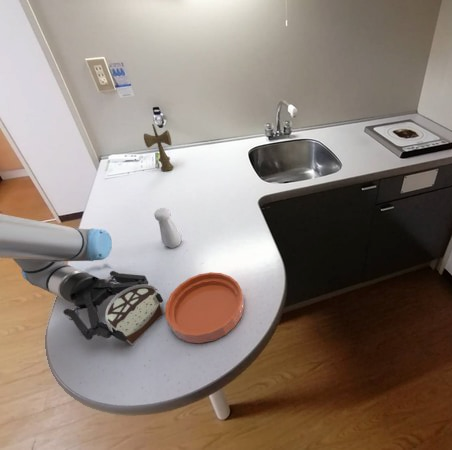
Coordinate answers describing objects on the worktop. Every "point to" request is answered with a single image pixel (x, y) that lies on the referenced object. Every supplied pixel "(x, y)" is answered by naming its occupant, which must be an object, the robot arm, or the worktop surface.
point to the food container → (134, 311)
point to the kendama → (160, 147)
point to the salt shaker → (167, 228)
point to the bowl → (204, 307)
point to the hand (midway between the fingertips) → (143, 316)
